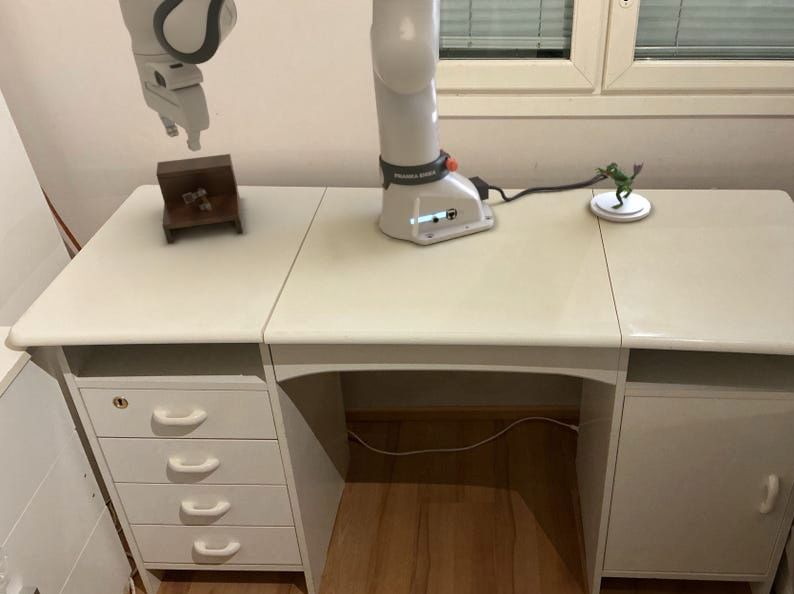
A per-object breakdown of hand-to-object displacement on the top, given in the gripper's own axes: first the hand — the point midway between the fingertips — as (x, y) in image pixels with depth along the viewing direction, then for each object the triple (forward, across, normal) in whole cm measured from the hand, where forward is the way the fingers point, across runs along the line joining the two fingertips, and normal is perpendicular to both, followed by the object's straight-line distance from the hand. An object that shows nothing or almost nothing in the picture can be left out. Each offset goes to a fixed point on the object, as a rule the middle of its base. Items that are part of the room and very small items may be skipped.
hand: (184, 142), depth 142 cm
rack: (+17, -2, +1) cm, 17 cm away
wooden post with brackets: (+13, -1, 0) cm, 13 cm away
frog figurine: (+18, +50, +66) cm, 85 cm away
